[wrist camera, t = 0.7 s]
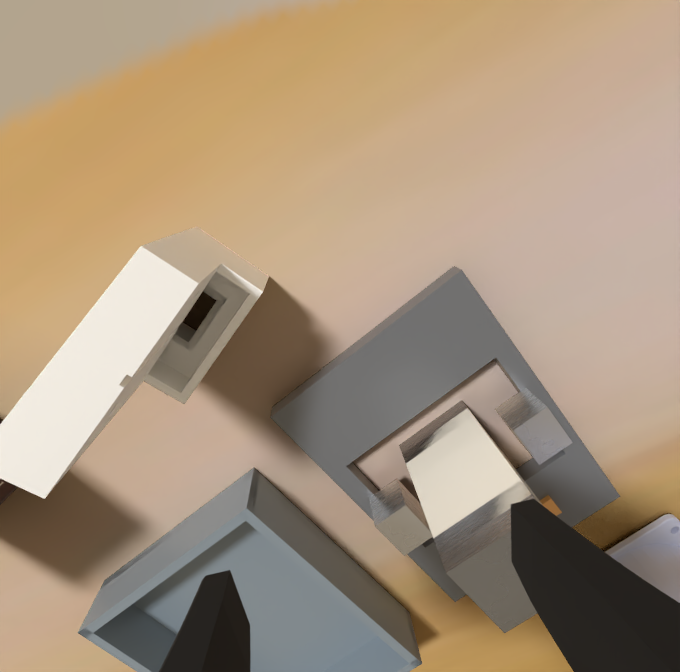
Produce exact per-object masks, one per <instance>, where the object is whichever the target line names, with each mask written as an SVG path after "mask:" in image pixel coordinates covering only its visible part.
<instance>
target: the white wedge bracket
mask: <svg viewBox="0 0 680 672" xmlns="http://www.w3.org/2000/svg"><path fill="white" fill-rule="evenodd" d="M268 278H269V275H267V274H266V273H264V272H263V271H262V270H260V269H259V268H257V267H256V266H254V265H253V264H251V263H250V262H248V261H247V260H246V259H244V258H243V257H241V256H240V255H238V254H237V253H235V252H234V251H233V250H231V249H230V248H228V247H227V246H225V245H224V244H222V243H221V242H219V241H218V240H217V239H215V238H214V237H212V236H211V235H209V234H208V233H206V232H205V231H204V230H202V229H201V228H199V227H198V226H196V227H194V228H191V229H188V230H185V231H182V232H179V233H176V234H174V235H171V236H168V237H165V238H162V239H159V240H156V241H153V242H151V243H148V244H145V245H142V246H140V248H139V249H138V250H137V252H136V253H135V254H134V255H133V257H132V258H131V259H130V260H129V262H128V263H127V264H126V265H125V267H124V268H123V269H122V271H121V272H120V273H119V274H118V276H117V277H116V278H115V279H114V281H113V282H112V283H111V285H110V286H109V287H108V288H107V290H106V291H105V292H104V293H103V295H102V296H101V297H100V298H99V300H98V301H97V302H96V304H95V305H94V306H93V307H92V309H91V310H90V311H89V312H88V314H87V315H86V316H85V318H84V319H83V320H82V321H81V323H80V324H79V325H78V326H77V328H76V329H75V330H74V331H73V333H72V334H71V335H70V337H69V338H68V339H67V340H66V342H65V343H64V344H63V345H62V347H61V348H60V349H59V351H58V352H57V353H56V354H55V356H54V357H53V358H52V359H51V361H50V362H49V363H48V364H47V366H46V367H45V368H44V370H43V371H42V372H41V373H40V375H39V376H38V377H37V378H36V380H35V381H34V382H33V384H32V385H31V386H30V387H29V389H28V390H27V391H26V392H25V394H24V395H23V396H22V397H21V399H20V400H19V401H18V403H17V404H16V405H15V406H14V408H13V409H12V410H11V411H10V413H9V414H8V415H7V417H6V418H5V419H4V420H3V422H2V423H1V424H0V479H3V480H5V481H7V482H9V483H11V484H13V485H15V486H18V487H20V488H22V489H24V490H26V491H28V492H31V493H33V494H35V495H37V496H39V497H41V498H44V499H45V498H46V497H47V496H48V494H49V493H50V492H51V491H52V490H53V488H54V487H55V486H56V485H57V484H58V482H59V481H60V480H61V479H62V478H63V476H64V475H65V474H66V473H67V472H68V470H69V469H70V468H71V467H72V466H73V464H74V463H75V462H76V461H77V460H78V458H79V457H80V456H81V455H82V454H83V453H84V451H85V450H86V449H87V448H88V447H89V445H90V444H91V443H92V442H93V441H94V439H95V438H96V437H97V436H98V435H99V433H100V432H101V431H102V430H103V429H104V427H105V426H106V425H107V424H108V423H109V421H110V420H111V419H112V418H113V417H114V416H115V414H116V413H117V412H118V411H119V410H120V408H121V407H122V406H123V405H124V404H125V402H126V401H127V400H128V399H129V398H130V396H131V395H132V394H133V393H134V392H135V390H136V389H137V388H138V387H139V386H140V384H141V383H142V382H143V381H144V382H146V383H148V384H150V385H151V386H153V387H155V388H157V389H158V390H160V391H162V392H164V393H165V394H167V395H169V396H171V397H173V398H174V399H176V400H178V401H180V402H181V403H183V404H185V403H186V401H187V400H188V398H189V397H190V396H191V394H192V393H193V391H194V390H195V388H196V387H197V386H198V384H199V383H200V381H201V380H202V378H203V377H204V376H205V374H206V373H207V371H208V370H209V368H210V367H211V366H212V364H213V363H214V361H215V360H216V358H217V357H218V356H219V354H220V353H221V351H222V350H223V348H224V347H225V346H226V344H227V343H228V341H229V340H230V338H231V337H232V336H233V334H234V333H235V331H236V330H237V328H238V327H239V326H240V324H241V323H242V321H243V320H244V318H245V317H246V315H247V314H248V313H249V311H250V310H251V308H252V307H253V305H254V304H255V303H256V301H257V300H258V298H259V297H260V295H261V294H262V293H263V291H264V288H265V286H266V283H267V281H268ZM202 292H204V293H206V294H207V295H209V296H211V297H212V298H214V299H215V300H217V301H216V302H215V304H214V305H213V307H212V308H211V310H210V311H209V313H208V314H207V316H206V317H205V319H204V320H203V322H202V323H201V325H200V326H199V328H198V329H197V331H196V330H194V329H192V328H191V327H189V326H188V325H186V324H184V323H183V320H184V319H185V317H186V316H187V314H188V313H189V311H190V310H191V308H192V307H193V305H194V304H195V302H196V301H197V299H198V298H199V296H200V295H201V293H202Z"/></svg>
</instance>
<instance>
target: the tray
mask: <svg viewBox="0 0 680 672" xmlns="http://www.w3.org/2000/svg"><path fill="white" fill-rule="evenodd" d="M228 570H230V571H231V574H232V577H233V579H234V582H235V585H236V588H237V590H238V593H239V596H240V599H241V601H242V604H243V607H244V610H245V612H246V615H247V618H248V621H249V623H250V650H251V659H250V672H409V671H411V670H413V669H414V668H416V667H417V666H419V665H421V664H422V661H421V657H420V653H419V649H418V645H417V641H416V637H415V633H414V629H413V624H412V620H411V616H410V613H409V612H408V611H407V610H406V609H405V608H404V607H403V606H402V605H401V604H400V603H399V602H397V601H396V600H395V599H394V598H393V597H392V596H391V595H390V594H389V593H388V592H387V591H386V590H385V589H383V588H382V587H381V586H380V585H379V584H378V583H377V582H376V581H375V580H374V579H373V578H372V577H371V576H370V575H368V574H367V573H366V572H365V571H364V570H363V569H362V568H361V567H360V566H359V565H358V564H357V563H356V562H355V561H353V560H352V559H351V558H350V557H349V556H348V555H347V554H346V553H345V552H344V551H343V550H342V549H341V548H340V547H338V546H337V545H336V544H335V543H334V542H333V541H332V540H331V539H330V538H329V537H328V536H327V535H326V534H325V533H323V532H322V531H321V530H320V529H319V528H318V527H317V526H316V525H315V524H314V523H313V522H312V521H311V520H309V519H308V518H307V517H306V516H305V515H304V514H303V513H302V512H301V511H300V510H299V509H298V508H297V507H296V506H294V505H293V504H292V503H291V502H290V501H289V500H288V499H287V498H286V497H285V496H284V495H283V494H282V493H281V492H279V491H278V490H277V489H276V488H275V487H274V486H273V485H272V484H271V483H270V482H269V481H268V480H267V479H266V478H264V477H263V476H262V475H261V474H260V473H259V472H258V471H257V470H256V469H255V468H253V469H252V470H250V471H249V472H248V473H246V474H245V475H244V476H242V477H241V478H240V479H238V480H237V481H236V482H234V483H233V484H232V485H230V486H229V487H228V488H226V489H225V490H224V491H222V492H221V493H220V494H218V495H217V496H216V497H214V498H213V499H212V500H210V501H209V502H208V503H206V504H205V505H204V506H203V507H201V508H200V509H199V510H197V511H196V512H195V513H193V514H192V515H191V516H189V517H188V518H187V519H185V520H184V521H183V522H181V523H180V524H179V525H177V526H176V527H175V528H173V529H172V530H171V531H169V532H168V533H167V534H165V535H164V536H163V537H161V538H160V539H159V540H157V541H156V542H155V543H153V544H152V545H151V546H150V547H148V548H147V549H146V550H144V551H143V552H142V553H140V554H139V555H138V556H136V557H135V558H134V559H132V560H131V561H130V562H128V563H127V564H126V565H124V566H123V567H122V568H120V569H119V570H118V571H116V572H115V573H114V574H112V575H111V576H110V577H108V578H107V579H106V580H105V581H104V583H103V585H102V586H101V588H100V590H99V592H98V594H97V596H96V598H95V600H94V602H93V604H92V606H91V608H90V610H89V612H88V614H87V616H86V618H85V620H84V622H83V624H82V626H81V627H80V629H79V631H78V633H79V634H80V635H82V636H83V637H85V638H86V639H88V640H89V641H91V642H93V643H94V644H96V645H97V646H99V647H100V648H102V649H103V650H105V651H106V652H108V653H109V654H111V655H112V656H114V657H116V658H117V659H119V660H120V661H122V662H123V663H125V664H126V665H128V666H129V667H131V668H132V669H134V670H136V671H137V672H159V670H160V668H161V666H162V664H163V662H164V660H165V658H166V656H167V654H168V652H169V650H170V648H171V646H172V644H173V642H174V640H175V638H176V636H177V634H178V632H179V630H180V628H181V626H182V624H183V621H184V619H185V617H186V615H187V613H188V611H189V608H190V606H191V604H192V602H193V599H194V597H195V595H196V593H197V590H198V588H199V586H200V584H201V581H202V579H203V578H204V577H205V576H206V575H210V574H215V573H219V572H223V571H228Z"/></svg>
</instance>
